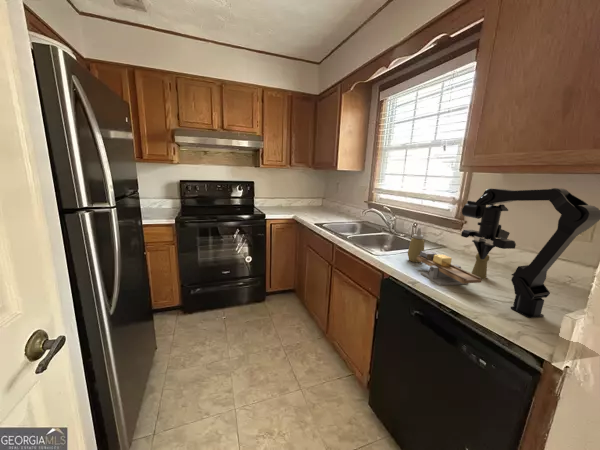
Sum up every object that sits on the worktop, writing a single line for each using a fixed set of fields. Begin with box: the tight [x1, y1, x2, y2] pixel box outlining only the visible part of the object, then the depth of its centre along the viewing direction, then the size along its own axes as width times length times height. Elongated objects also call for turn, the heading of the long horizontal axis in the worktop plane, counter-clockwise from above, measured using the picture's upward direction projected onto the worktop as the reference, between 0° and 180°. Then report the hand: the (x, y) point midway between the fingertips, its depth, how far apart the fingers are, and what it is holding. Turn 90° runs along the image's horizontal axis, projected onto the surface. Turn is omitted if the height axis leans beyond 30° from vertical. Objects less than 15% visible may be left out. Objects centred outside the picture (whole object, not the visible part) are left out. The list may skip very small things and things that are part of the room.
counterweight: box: [420, 250, 438, 260], centre depth 123 cm, size 5×5×3 cm
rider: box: [433, 254, 453, 267], centre depth 114 cm, size 5×5×4 cm
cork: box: [470, 252, 490, 280], centre depth 117 cm, size 6×6×11 cm
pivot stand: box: [420, 264, 469, 286], centre depth 113 cm, size 12×15×6 cm
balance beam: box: [417, 256, 483, 284], centre depth 112 cm, size 28×9×2 cm, turn 12°
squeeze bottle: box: [407, 227, 425, 263], centre depth 134 cm, size 8×8×18 cm
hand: (482, 259), depth 101 cm, fingers closed
